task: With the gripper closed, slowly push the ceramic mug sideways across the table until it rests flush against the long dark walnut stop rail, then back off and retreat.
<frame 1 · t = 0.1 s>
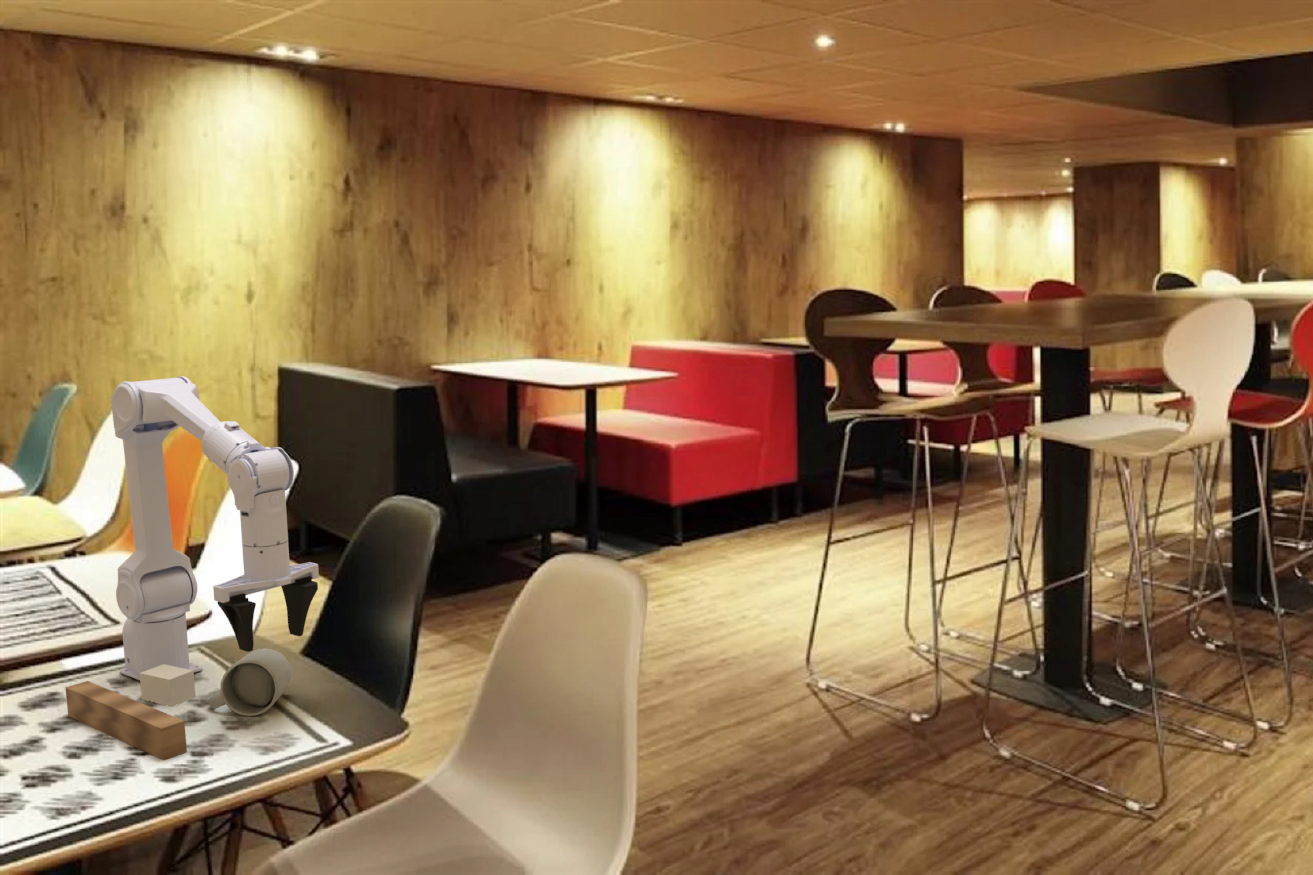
hand: (271, 642, 155), 10 cm above the table, fingers open, 7 cm apart
walnut rail: (125, 733, 151), on the table
ceramic mug: (249, 708, 159), on the table
beige rectangular block: (168, 699, 163), on the table
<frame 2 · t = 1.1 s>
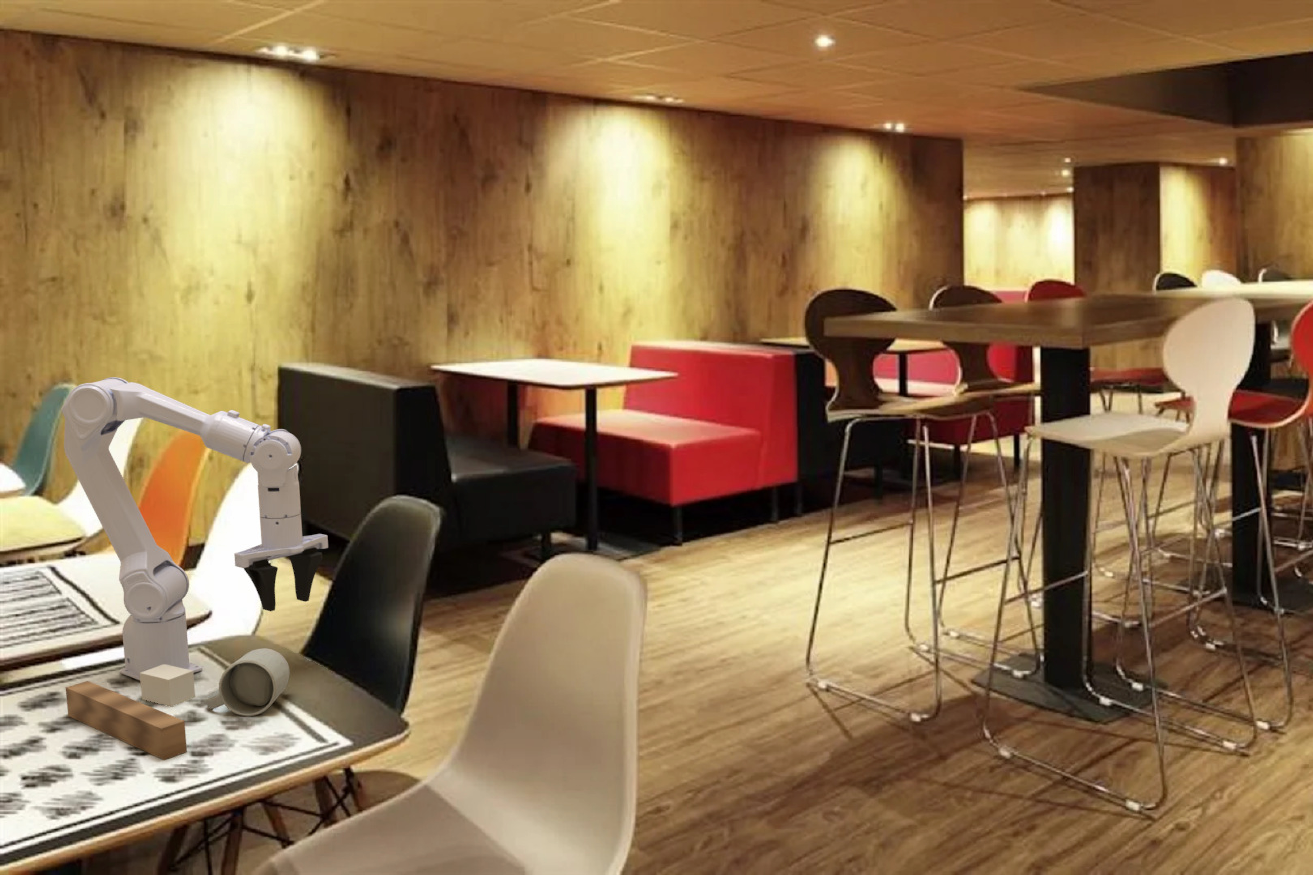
hand: (286, 604, 172), 10 cm above the table, fingers open, 5 cm apart
nothing on the table moved.
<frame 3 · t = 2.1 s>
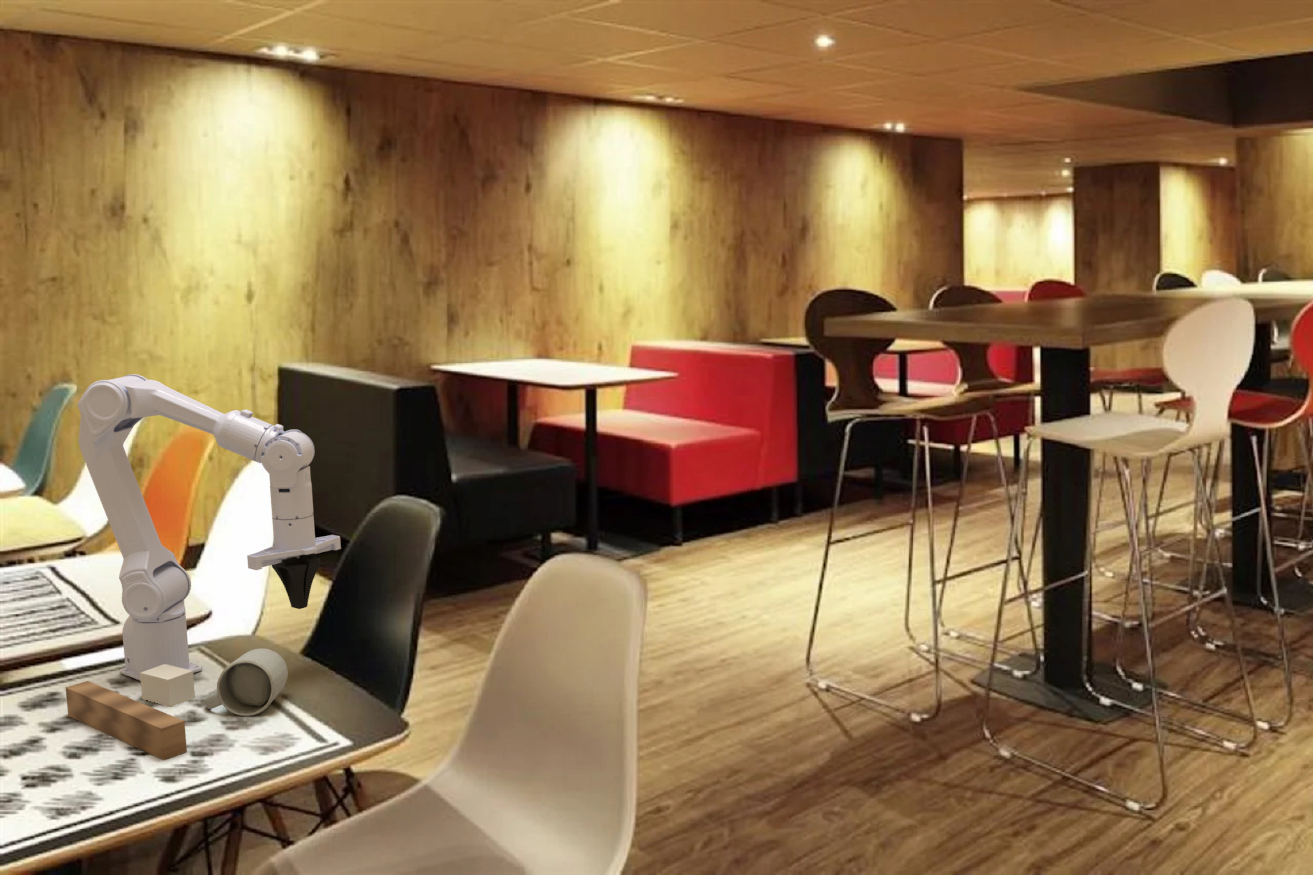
hand: (299, 607, 170), 10 cm above the table, fingers closed
nothing on the table moved.
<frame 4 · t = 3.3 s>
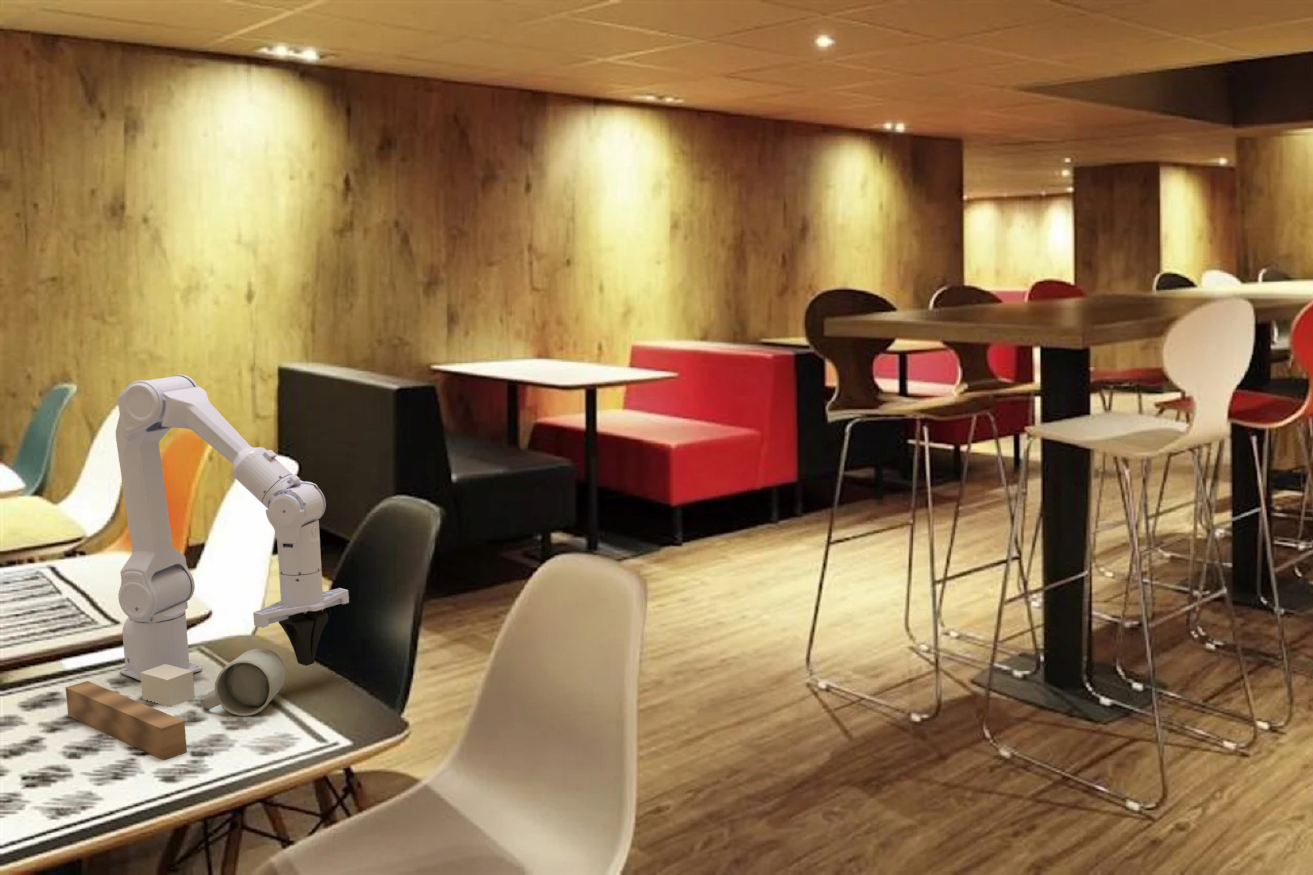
hand: (306, 663, 166), 3 cm above the table, fingers closed
nothing on the table moved.
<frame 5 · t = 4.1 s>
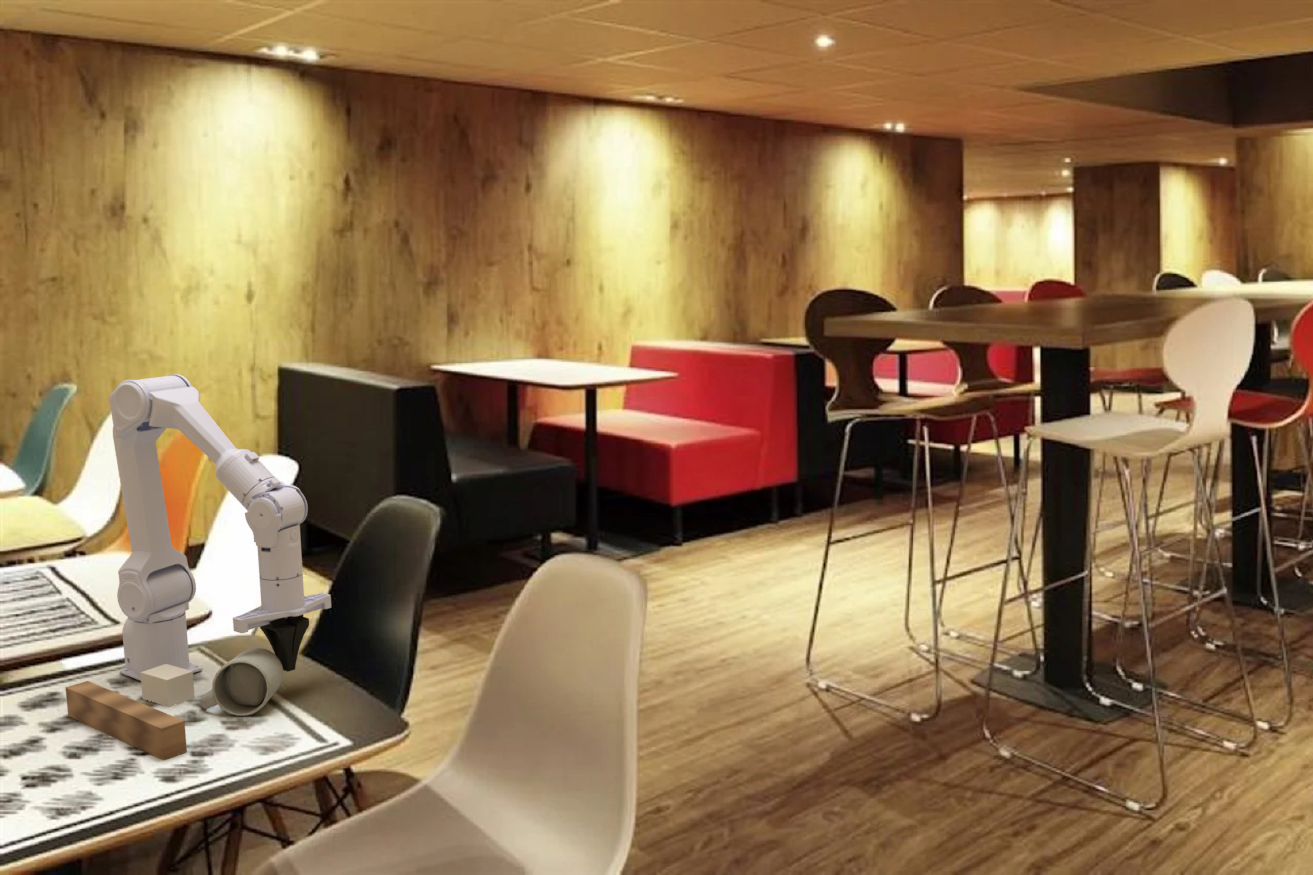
hand: (287, 669, 164), 3 cm above the table, fingers closed
ceramic mug: (241, 708, 159), on the table, touching gripper
everything else where it was.
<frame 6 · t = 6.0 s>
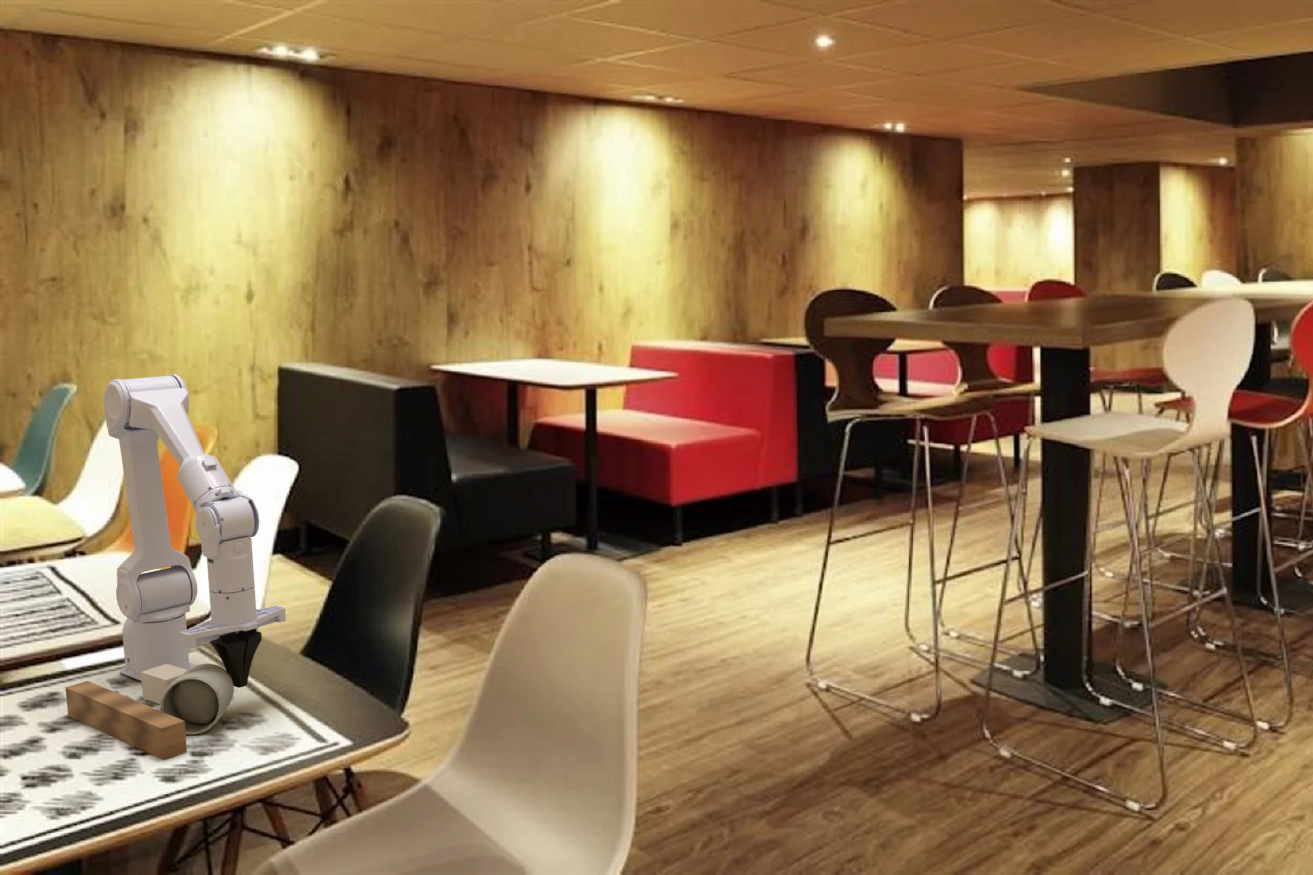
hand: (238, 685, 158), 3 cm above the table, fingers closed
ceramic mug: (190, 726, 153), on the table, touching gripper
everything else where it was.
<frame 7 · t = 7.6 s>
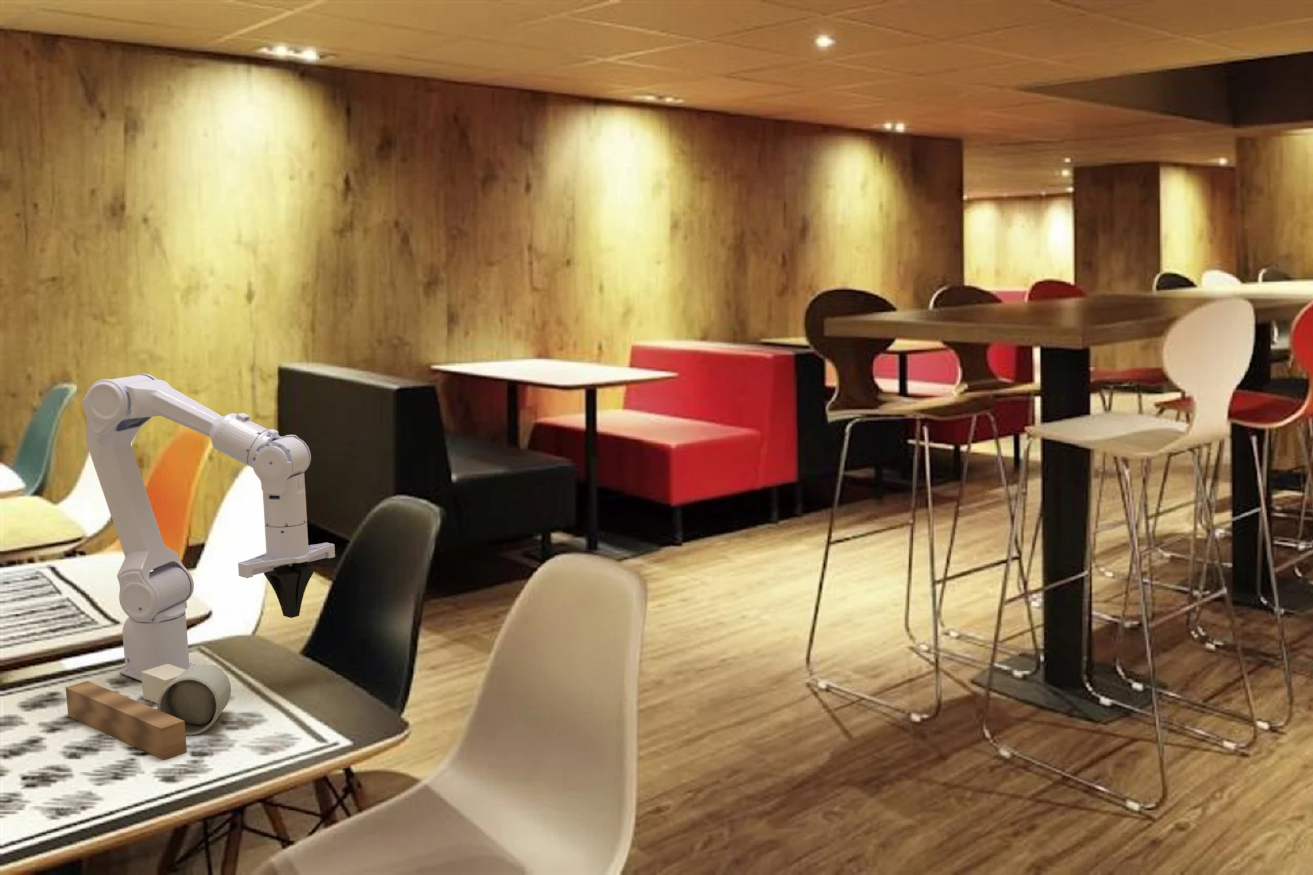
hand: (291, 615, 167), 10 cm above the table, fingers closed
ceramic mug: (188, 727, 153), on the table
everything else where it was.
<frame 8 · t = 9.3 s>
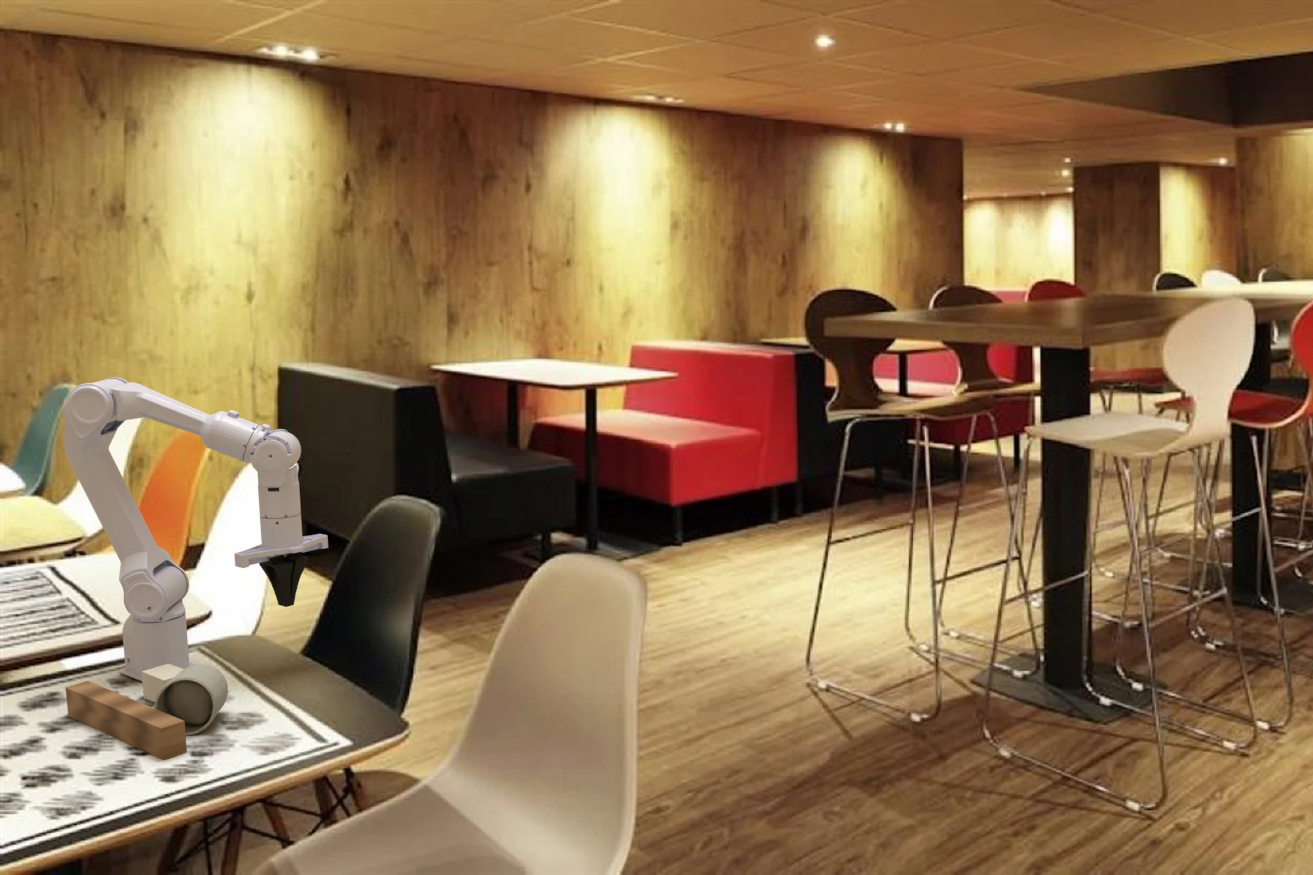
hand: (286, 604, 172), 10 cm above the table, fingers closed
nothing on the table moved.
at the end: ceramic mug inside the target area on the table beside the walnut rail (1.6 cm from its centre), on the table; ceramic mug tilted 0°; beige rectangular block moved 0.2 cm from its start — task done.
